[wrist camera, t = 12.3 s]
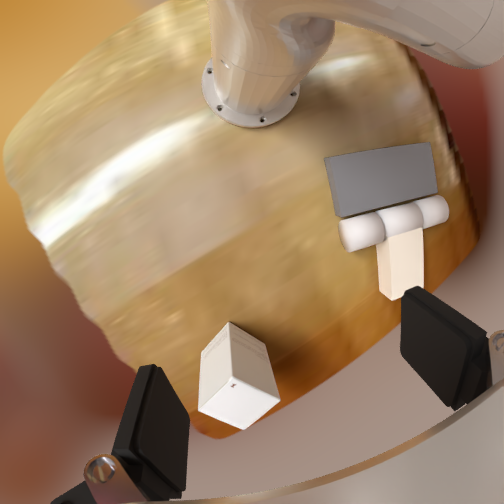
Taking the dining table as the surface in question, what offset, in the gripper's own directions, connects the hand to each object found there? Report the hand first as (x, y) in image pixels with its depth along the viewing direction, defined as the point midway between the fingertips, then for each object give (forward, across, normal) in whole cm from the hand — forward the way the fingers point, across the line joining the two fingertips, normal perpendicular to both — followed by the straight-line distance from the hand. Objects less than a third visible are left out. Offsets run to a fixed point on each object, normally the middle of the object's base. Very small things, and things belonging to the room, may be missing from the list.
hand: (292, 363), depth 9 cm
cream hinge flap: (+28, -22, +9) cm, 37 cm away
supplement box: (+28, +6, +18) cm, 34 cm away
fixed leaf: (+28, -22, 0) cm, 36 cm away
